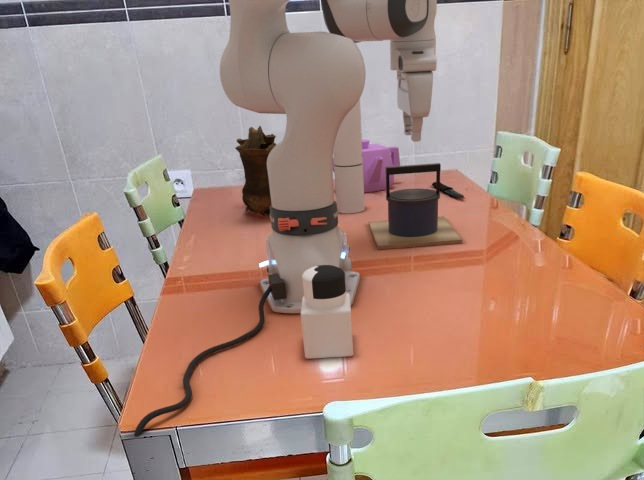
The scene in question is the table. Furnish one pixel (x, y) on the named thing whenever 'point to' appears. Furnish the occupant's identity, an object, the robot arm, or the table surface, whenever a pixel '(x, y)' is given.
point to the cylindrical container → (349, 163)
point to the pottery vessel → (256, 170)
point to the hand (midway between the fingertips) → (412, 137)
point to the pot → (413, 204)
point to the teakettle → (377, 165)
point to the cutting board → (390, 241)
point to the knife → (448, 190)
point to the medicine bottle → (326, 313)
